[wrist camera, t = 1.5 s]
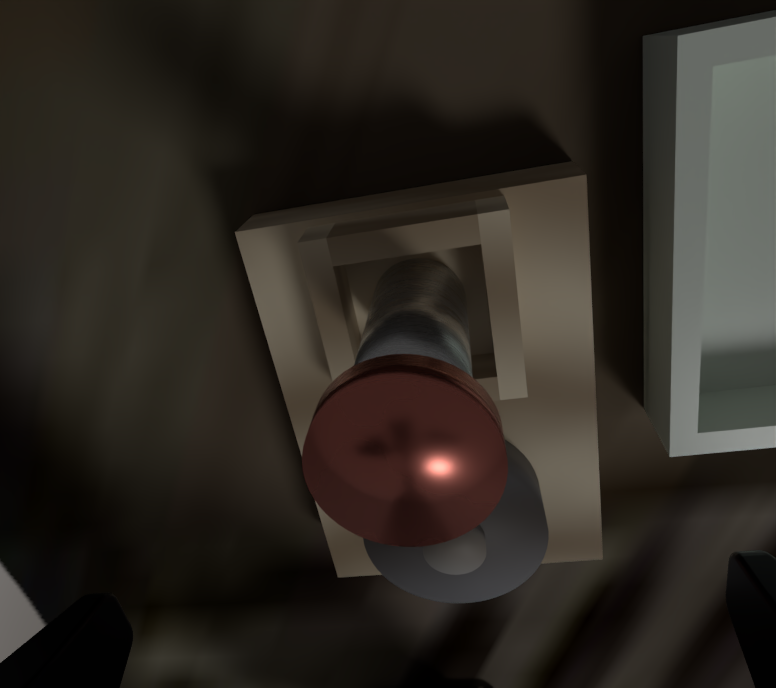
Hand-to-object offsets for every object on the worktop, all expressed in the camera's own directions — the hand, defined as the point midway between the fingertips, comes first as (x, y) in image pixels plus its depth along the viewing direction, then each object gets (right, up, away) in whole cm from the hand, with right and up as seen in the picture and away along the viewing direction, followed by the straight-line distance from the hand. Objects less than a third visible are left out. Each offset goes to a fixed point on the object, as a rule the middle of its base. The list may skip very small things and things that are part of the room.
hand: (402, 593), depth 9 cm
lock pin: (+1, +5, +10) cm, 11 cm away
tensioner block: (+2, +2, +13) cm, 13 cm away
